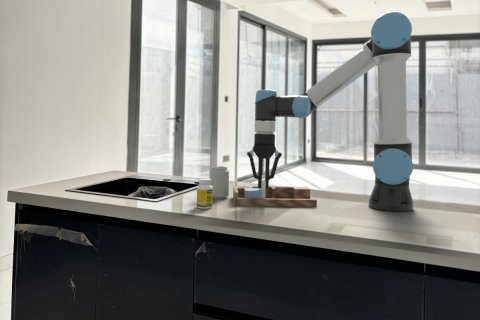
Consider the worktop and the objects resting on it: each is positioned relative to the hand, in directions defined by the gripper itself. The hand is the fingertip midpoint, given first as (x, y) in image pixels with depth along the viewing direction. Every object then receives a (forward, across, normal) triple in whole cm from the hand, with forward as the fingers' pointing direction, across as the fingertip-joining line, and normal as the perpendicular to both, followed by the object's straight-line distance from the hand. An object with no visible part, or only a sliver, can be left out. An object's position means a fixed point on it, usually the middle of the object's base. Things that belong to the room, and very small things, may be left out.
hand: (262, 197), depth 154 cm
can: (+2, +16, -9) cm, 19 cm away
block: (+2, +4, 0) cm, 4 cm away
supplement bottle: (+2, +21, +10) cm, 23 cm away
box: (+2, -4, -2) cm, 5 cm away
